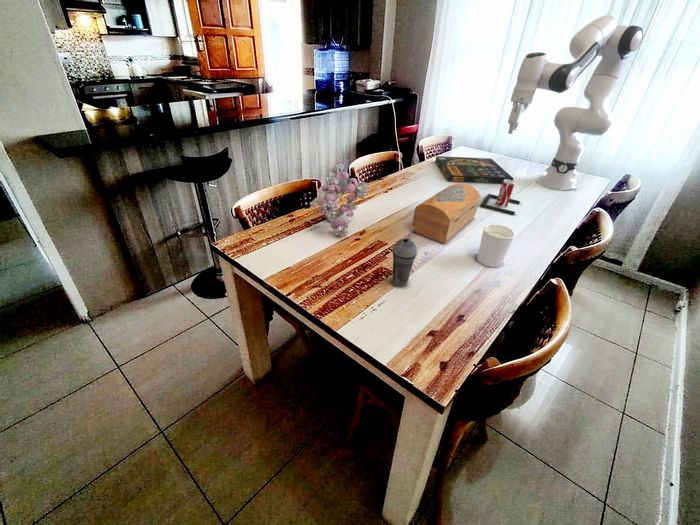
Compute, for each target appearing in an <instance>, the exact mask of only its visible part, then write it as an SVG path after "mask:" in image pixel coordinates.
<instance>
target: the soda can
mask: <svg viewBox="0 0 700 525" xmlns="http://www.w3.org/2000/svg"><path fill="white" fill-rule="evenodd" d="M500 185H501V186H500V189H499V192H498V195H497V196H498V198H497V199H496V201H495V205H496V207H498V208H506V207H508V205H509V203H510V202H509V199H511V196H512V193H513V190H514V187H515V181H514V180H513V181H512V180H508V179H506V180H504V181H503V183H502V184H500Z"/></svg>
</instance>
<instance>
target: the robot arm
mask: <svg viewBox="0 0 700 525" xmlns="http://www.w3.org/2000/svg"><path fill="white" fill-rule="evenodd" d="M643 38H644V31H643V28H642V27H641V26H638V25H618V21H617V19H616V17H615V16H613V15H611V14H605V15H601V16H599V17H598V18H596V19H594V20H592V21H591V22H589V23H588V24H587V25H585V26H584V27H582V28H581V29H580V30H579V31H578V32H576V33H575V34H574V35H573V37H572V38H571V40H570V42H569V53H570V56H571V57H572V58H573V59H574V60H573V61H572V62H568V63H557V62H556V63H555V62H550V61H549V60H548V59H547V53H546V52H539V51H538V52H531V53H527V54H525V56H524V58H523V60H522V62H521V65H520V67H519V69H518V74H517V77H516V84H515V85H514V87H513V89H512V94H511V98H510V102H511V103H512V104H511V105H512V107H511V111H510V114H509V116H508V119H507V120H508V121H507V124H509V129H508V132H507V133H508V134H509V135H513V134H514V131H516V130H517V129H518V126H519V123H520V121H522V119H523V118H524V117H525V114H526V112H527V110H528V108H529V106H530V104H533V103H534V99H535V96H536V93H537V91H538V89H540V90H544V91H551V92H554V93H558V94H562V93H564V92H566V91H568V90H569V89H570V88H571V87H572V86H573V85H574V83H575V82H576V80H577V79H579V77H580V76H581V75H582V74H583V73H584V72H585V70H587V69H588V67H590V65H591V64H592V63H593V62H594V61H595V59H596V58H597V57H601V59H600V61H599V62H598V64H597V65H596V68H595V69H594V71H593V72H592V74H591V76H590V78H589V80H588V81H587V82H588V83H587V84H586V86H585V88H584V91H583V97H584V98H585V99H586V101H587V102H589V103H590V104H589V107H588V108H584V107H577V106H564V107H562V108H560V109H559V110H558V111H557V112H556V114H555V115H554V119H553V122H554V123H553V124H554V127H555V128H556V129H557V131H558V135H559V144H558V148H557V150H556V153H555V155H554V157H553V158H552V161H551V164H550V166H548V167H546V168H545V170H544V172H543V175H542V176H541V177H540V178H538V179H537V180H536V181H537V183H538V184H541V185H543V187H544V186H545V187H547V188H548V189H553V190H558V191H569V190H570V191H572V190H574V191H575V190H576V186H575V184H576V183H577V180H576V178H577V175H578V173H577V171H576V169H577V168H578V166H579V161H580V159H581V156H582V154H583V151H584V149H585V147H584V144H583V143H582V141H581V140H580V139H579V137H578V136H579V135H578V134H581V135H586V136H595V137H596V136H597V137H598V136H600V137H601V136H604V135H606V134H607V133H609V131H610V130H611V129H612V127H613V125H614V116H613V114H612V113H611V111H610V106H609V104H610V98H611V96H612V93H613V91H614V89H615V87H616V85H617V83H618V81H619V79H620V78H621V75H622V73H623V72H624V68H625V66H626V63H627V61H628V60H627V59H628V58H629V57H630V56H631V55H632V54H633V53H635V51H636V50H637V49H638V48H639V47H640V45H641V43H642V41H643ZM574 183H575V184H574Z"/></svg>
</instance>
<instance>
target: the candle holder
mask: <svg viewBox="0 0 700 525" xmlns="http://www.w3.org/2000/svg"><path fill="white" fill-rule="evenodd" d="M515 236H516V234H515V231H513V229H511V228H510V227H508V226H505V225H503V224H496V223H490V224H486V225H485V226H483V231H482V234H481V239H480V242H479V248H478V251H477V255H476V259H477V261H478V262H479V263H480V264H482V265H483V266H486V267H490V268H497V267H500V266H502V264H503V262H504V260H505V257H506V255H507V253H508V250H509V249H510V247H511V244H512V243H513V242H512V241H513V240H514V238H515Z"/></svg>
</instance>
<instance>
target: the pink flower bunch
mask: <svg viewBox="0 0 700 525" xmlns="http://www.w3.org/2000/svg"><path fill="white" fill-rule="evenodd" d="M344 169H345V164H344V163H338V164H337V162H334V164H333V165H331V166H329V171H330V172H331V174H332V175H330V176H326V177H325V179H324V181H325V183H326V184H325V185H322V186H321V191H322V192H323V193H324V196H323V197H322V196H321V197H315V198H314V199H313V200H312V201H311V202H310V203H309V206H319V207H317V210H318V212H319V213H321V214H323V215H324V218H326V219H327V220H328V221H329V222H330V225H329V226H330V227H331V228H330V229H332V230H334V233H335V234H336V237H338V236H340V237H341V238H342V239H343V236H345V234H347V235H349V230H348V227H349V219H347V218H346V217H348V218H352V217H354V215H355V213H354V211H355V210H356V209H358V206H356V201H357V198H358V199H360V200H365V199H366V198H365V197H366V196H369V195H368V188H369V185H368V184H367V183H366V182H365V181H361V182H358V180H357V178H355V177H351V178H350V173H348V172H347V171H344ZM342 176H343V177H344V178H345V179H346V180H349V181H350V182H352V183H347V184H346V186H345V189H343V190H342ZM349 178H350V179H349ZM338 183H339V184H340V185H338ZM346 191H347V192H349V193H350V194H349V195H348V196H346V200H347V201H346V204H344V203H343V204H340V205H339V201H338V200H337V199H339V198H342V197H343V193H344V192H346ZM325 192H326V193H325ZM371 192H372V190H370V191H369V193H371ZM364 196H365V197H364ZM335 209H336V210H335Z"/></svg>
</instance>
